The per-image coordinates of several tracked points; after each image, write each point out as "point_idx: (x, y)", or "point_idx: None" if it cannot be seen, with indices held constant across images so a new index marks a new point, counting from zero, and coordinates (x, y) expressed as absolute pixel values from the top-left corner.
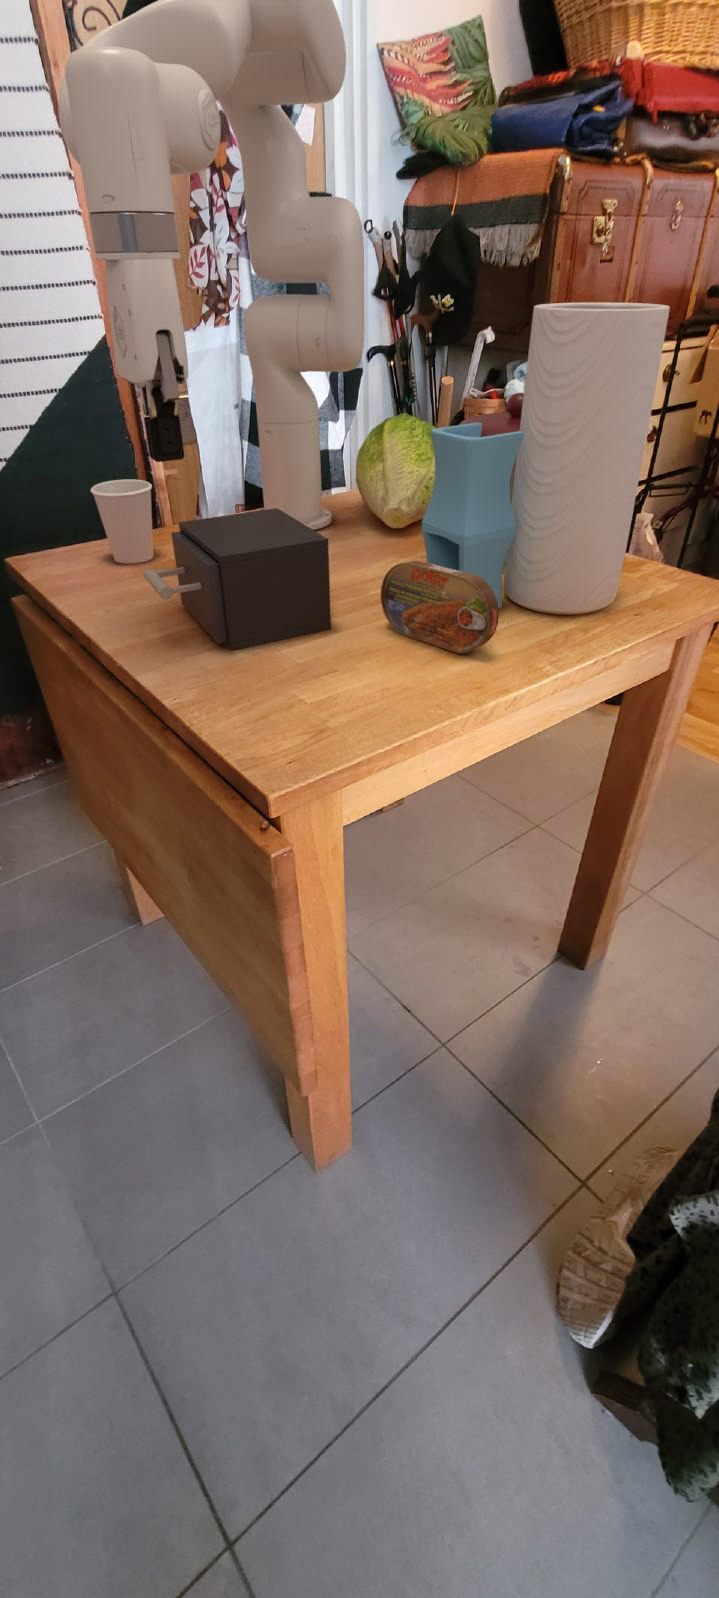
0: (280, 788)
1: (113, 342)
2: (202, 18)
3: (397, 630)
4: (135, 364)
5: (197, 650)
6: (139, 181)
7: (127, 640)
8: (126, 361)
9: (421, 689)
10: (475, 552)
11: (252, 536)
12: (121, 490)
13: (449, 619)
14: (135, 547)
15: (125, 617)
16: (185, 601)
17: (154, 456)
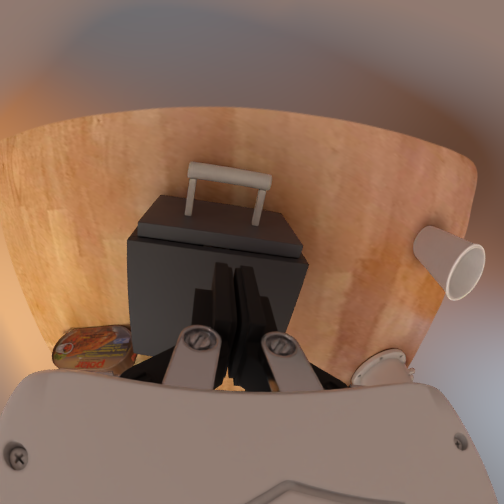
0: None
1: (469, 463)
2: None
3: (120, 326)
4: (30, 433)
5: (176, 176)
6: None
7: (247, 129)
8: (218, 475)
9: (42, 281)
10: None
11: (182, 306)
12: (471, 275)
13: (79, 344)
14: (422, 244)
15: (307, 156)
16: (265, 213)
17: (215, 266)
